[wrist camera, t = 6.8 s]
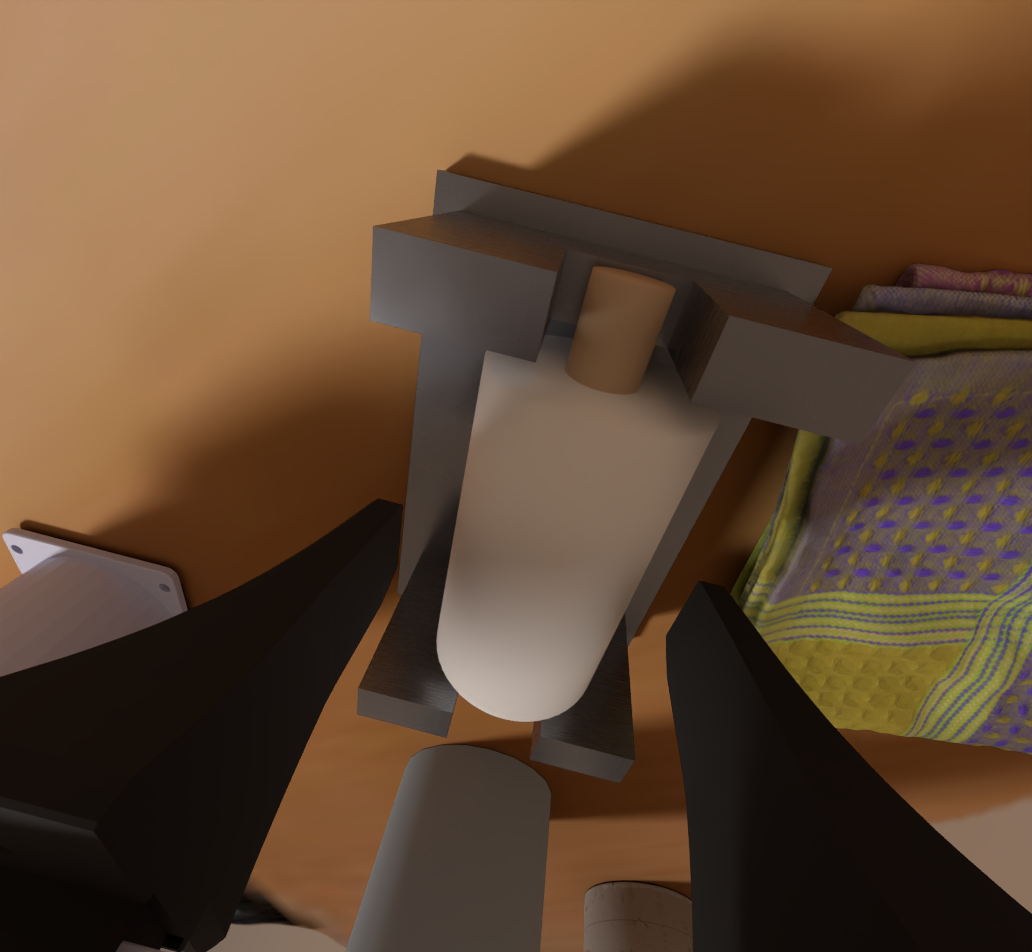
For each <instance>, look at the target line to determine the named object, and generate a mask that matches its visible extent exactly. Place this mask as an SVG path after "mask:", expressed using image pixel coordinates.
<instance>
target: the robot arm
mask: <svg viewBox="0 0 1032 952" xmlns="http://www.w3.org/2000/svg"><path fill="white" fill-rule="evenodd" d="M402 510H403V505H402V504H398V503H394V502H390V501H386V500H382V499H377V500H375V501H373V502H372V503H370V504H369V505H367V506H366V507H365V508H363V509H362V510H360V511H359V512H358V513H356V514H355V515H354V516H352V517H351V518H349V519H348V520H347V521H345V522H344V523H342V524H341V525H339V526H338V527H337V528H335V529H334V530H332V531H331V532H329V533H328V534H326V535H325V536H323V537H322V538H320V539H319V540H317V541H316V542H314V543H313V544H311V545H310V546H308V547H307V548H305V549H303V550H302V551H300V552H299V553H297V554H295V555H294V556H292V557H290V558H289V559H287V560H285V561H284V562H282V563H280V564H279V565H277V566H275V567H273V568H272V569H270V570H268V571H267V572H265V573H263V574H261V575H259V576H258V577H256V578H254V579H252V580H250V581H248V582H246V583H245V584H243V585H241V586H239V587H237V588H235V589H233V590H231V591H229V592H227V593H225V594H223V595H221V596H219V597H217V598H215V599H212V600H210V601H208V602H206V603H204V604H201V605H199V606H197V607H195V608H192V609H190V610H188V609H187V605H186V602H185V598H184V594H183V591H182V587H181V583H180V580H179V576H178V574H177V573H176V572H175V571H174V570H172V569H171V568H168V567H165V566H161V565H157V564H153V563H149V562H146V561H142V560H138V559H134V558H130V557H126V556H123V555H119V554H115V553H111V552H107V551H103V550H100V549H96V548H92V547H88V546H84V545H80V544H77V543H73V542H69V541H65V540H61V539H57V538H54V537H50V536H46V535H42V534H38V533H34V532H31V531H27V530H23V529H19V528H11V529H9V530H7V531H6V532H4V533H3V539H4V541H5V543H6V545H7V547H8V549H9V550H10V552H11V554H12V556H13V558H14V560H15V562H16V564H17V565H18V567H19V569H20V571H21V573H22V575H20V576H19V577H17V578H16V579H15V580H13V581H12V582H10V583H9V584H7V585H6V586H4V587H3V588H1V589H0V952H164V951H161V950H160V948H164V949H168V950H172V951H176V952H181V951H182V952H206V951H208V950H210V949H211V948H213V947H214V946H215V945H217V944H218V943H219V942H220V941H222V940H223V939H224V938H225V937H226V935H227V932H228V930H229V927H230V925H231V922H232V920H233V917H234V915H235V912H236V910H237V907H238V905H239V902H240V900H241V897H242V895H243V892H244V890H245V887H246V885H247V882H248V880H249V878H250V875H251V873H252V870H253V868H254V865H255V863H256V860H257V858H258V855H259V853H260V851H261V848H262V846H263V843H264V841H265V839H266V836H267V834H268V832H269V829H270V827H271V825H272V822H273V820H274V818H275V815H276V813H277V810H278V808H279V806H280V803H281V801H282V799H283V796H284V794H285V792H286V789H287V787H288V785H289V783H290V780H291V778H292V776H293V774H294V771H295V769H296V767H297V765H298V762H299V760H300V758H301V756H302V753H303V751H304V749H305V747H306V744H307V742H308V740H309V738H310V736H311V733H312V731H313V729H314V727H315V725H316V723H317V720H318V718H319V716H320V714H321V712H322V709H323V707H324V705H325V703H326V701H327V699H328V698H329V696H330V694H331V692H332V690H333V688H334V686H335V684H336V683H337V681H338V679H339V677H340V676H341V674H342V672H343V670H344V669H345V667H346V665H347V664H348V662H349V660H350V658H351V657H352V655H353V653H354V651H355V650H356V648H357V646H358V644H359V643H360V641H361V639H362V637H363V636H364V634H365V632H366V631H367V629H368V627H369V625H370V623H371V622H372V620H373V618H374V616H375V615H376V613H377V611H378V609H379V608H380V606H381V604H382V602H383V599H384V597H385V595H386V593H387V590H388V588H389V586H390V583H391V581H392V578H393V576H394V574H395V571H396V569H397V565H398V554H399V543H400V532H401V521H402ZM666 662H667V679H668V686H669V693H670V699H671V706H672V712H673V718H674V724H675V730H676V736H677V742H678V748H679V754H680V760H681V766H682V772H683V779H684V787H685V795H686V805H687V820H688V835H689V850H690V872H691V894H692V934H693V952H1032V914H1031V913H1030V912H1029V911H1028V910H1026V909H1025V908H1024V907H1023V906H1021V905H1020V904H1019V903H1018V902H1016V900H1014V899H1013V898H1012V897H1011V896H1010V895H1009V894H1007V893H1006V892H1005V891H1004V890H1003V889H1002V888H1000V887H999V886H998V885H997V884H996V883H995V882H994V881H992V880H991V879H990V878H989V877H988V876H987V875H986V874H984V873H983V872H982V871H981V870H980V869H978V867H976V866H975V865H974V864H973V863H972V862H971V861H969V860H968V859H967V858H966V857H965V856H964V855H963V854H962V853H960V852H959V851H958V850H957V849H956V848H955V847H954V846H953V845H952V844H951V843H949V842H948V841H947V840H946V839H945V838H944V837H943V836H942V835H941V834H940V833H938V832H937V831H936V830H935V829H934V828H933V827H932V826H931V825H930V824H929V823H928V822H927V821H926V820H925V819H924V818H923V817H922V816H921V815H920V814H918V813H917V812H916V811H915V810H914V809H913V808H912V807H911V806H910V805H909V804H908V803H907V802H906V801H905V800H904V799H903V798H902V797H901V796H900V795H899V794H898V793H897V792H896V791H895V790H894V789H893V788H892V787H891V786H890V785H889V784H888V783H887V782H886V781H885V780H884V779H883V778H882V777H881V776H880V775H879V774H878V773H877V772H876V771H875V770H874V769H873V768H872V767H871V766H870V765H869V764H868V763H867V762H866V761H865V760H864V758H863V757H862V756H861V755H860V754H859V753H858V752H857V751H856V750H855V749H854V748H853V747H852V746H851V745H850V744H849V742H848V741H847V740H846V739H845V738H844V737H843V736H842V735H841V734H840V733H839V732H838V730H837V729H836V728H835V727H834V726H833V725H832V724H831V723H830V721H829V720H828V719H827V718H826V717H825V716H824V714H823V713H822V712H821V711H820V710H819V708H818V707H817V706H816V705H815V704H814V702H813V701H812V700H811V699H810V698H809V696H808V695H807V694H806V693H805V692H804V690H803V689H802V688H801V687H800V685H799V684H798V683H797V682H796V680H795V679H794V678H793V677H792V675H791V674H790V673H789V672H788V670H787V669H786V668H785V666H784V665H783V664H782V663H781V661H780V660H779V659H778V657H777V656H776V655H775V653H774V652H773V651H772V650H771V648H770V647H769V646H768V644H767V643H766V642H765V640H764V639H763V638H762V636H761V635H760V633H759V632H758V631H757V629H756V628H755V627H754V625H753V624H752V623H751V621H750V620H749V619H748V617H747V616H746V615H745V613H744V612H743V611H742V609H741V608H740V606H739V605H738V604H737V603H736V601H735V600H734V599H733V597H732V596H731V595H730V593H729V592H728V591H727V590H726V589H725V587H722V586H718V585H714V584H710V583H706V582H703V581H698V583H697V585H696V586H695V588H694V590H693V591H692V593H691V595H690V596H689V598H688V600H687V602H686V603H685V605H684V607H683V608H682V610H681V612H680V613H679V615H678V617H677V618H676V620H675V622H674V623H673V625H672V627H671V628H670V630H669V632H668V633H667V635H666Z"/></svg>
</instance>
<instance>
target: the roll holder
mask: <svg viewBox="0 0 1032 952" xmlns="http://www.w3.org/2000/svg"><path fill="white" fill-rule="evenodd" d="M596 266H602V267H610V268H616V269H621V270H626V271H630V272H634V273H638V274H642V275H645V276H648V277H651V278H654V279H657V280H660V281H662V282H665V283H667V284H669V285H671V286H673V287H674V288H675V289H676V291H675V294H674V296H673V299H672V302H671V304H670V307H669V310H668V312H667V315H666V318H665V320H664V323H663V326H662V328H661V331H660V334H659V336H658V339H657V342H656V344H655V347H654V350H653V352H652V355H651V358H650V360H651V361H653V362H656V363H658V364H660V365H662V366H664V367H667V368H669V369H671V370H673V371H674V372H676V373H678V374H679V376H680V379H681V381H682V383H683V385H684V388H685V390H686V392H687V394H688V397H689V399H690V401H691V402H693V403H697V404H701V405H705V406H709V407H713V408H717V409H719V412H720V421H719V424H718V426H717V428H716V430H715V432H714V434H713V436H712V438H711V440H710V442H709V444H708V446H707V448H706V450H705V452H704V454H703V456H702V458H701V460H700V462H699V464H698V466H697V468H696V470H695V472H694V474H693V476H692V478H691V480H690V482H689V484H688V486H687V488H686V490H685V492H684V494H683V496H682V499H681V501H680V503H679V505H678V507H677V509H676V511H675V513H674V515H673V517H672V519H671V521H670V523H669V525H668V527H667V529H666V531H665V533H664V535H663V537H662V539H661V541H660V543H659V545H658V547H657V549H656V551H655V553H654V555H653V557H652V559H651V561H650V563H649V565H648V567H647V569H646V571H645V573H644V575H643V577H642V579H641V581H640V583H639V585H638V587H637V589H636V591H635V593H634V595H633V597H632V599H631V601H630V603H629V605H628V607H627V609H626V611H625V613H624V615H623V617H622V619H621V621H620V623H619V625H618V627H617V629H616V631H615V633H614V635H613V637H612V639H611V641H610V643H609V645H608V647H607V649H606V651H605V653H604V655H603V657H602V659H601V661H600V663H599V665H598V667H597V669H596V671H595V673H594V675H593V677H592V679H591V681H590V683H589V685H588V687H587V689H586V690H585V692H584V694H583V695H582V697H581V698H580V699H579V700H578V701H577V702H576V703H575V704H574V705H573V706H572V707H570V708H569V709H568V710H566V711H565V712H563V713H561V714H559V715H557V716H554V717H552V718H549V719H545V720H540V721H534V725H533V734H532V743H531V751H530V760H533V761H537V762H540V763H544V764H548V765H552V766H556V767H559V768H563V769H567V770H571V771H575V772H578V773H582V774H586V775H590V776H594V777H597V778H601V779H605V780H609V781H613V782H616V783H620V782H621V780H622V779H623V778H624V776H625V775H626V773H627V772H628V771H629V769H630V768H631V766H632V765H633V763H634V762H635V749H634V735H633V720H632V706H631V691H630V677H629V662H628V646H629V644H630V642H631V640H632V639H633V637H634V635H635V633H636V631H637V629H638V628H639V626H640V624H641V622H642V620H643V618H644V616H645V615H646V613H647V611H648V609H649V607H650V605H651V603H652V602H653V600H654V598H655V596H656V594H657V592H658V591H659V589H660V587H661V585H662V583H663V581H664V579H665V578H666V576H667V574H668V572H669V570H670V568H671V567H672V565H673V563H674V561H675V559H676V557H677V555H678V554H679V552H680V550H681V548H682V546H683V544H684V542H685V541H686V539H687V537H688V535H689V533H690V531H691V530H692V528H693V526H694V524H695V522H696V520H697V518H698V517H699V515H700V513H701V511H702V509H703V507H704V506H705V504H706V502H707V500H708V498H709V496H710V494H711V493H712V491H713V489H714V487H715V485H716V483H717V481H718V480H719V478H720V476H721V474H722V472H723V470H724V469H725V467H726V465H727V463H728V461H729V459H730V457H731V456H732V454H733V452H734V450H735V448H736V446H737V445H738V443H739V441H740V439H741V437H742V435H743V433H744V432H745V430H746V428H747V426H748V424H749V422H750V420H751V419H752V418H756V419H760V420H764V421H768V422H772V423H776V424H780V425H784V426H788V427H792V428H796V429H800V430H804V431H808V432H812V433H815V434H819V435H823V436H827V437H831V438H835V439H839V440H843V441H847V442H851V443H855V444H860V443H861V441H862V440H863V438H864V437H865V436H866V434H867V433H868V431H869V430H870V429H871V427H872V426H873V424H874V423H875V421H876V420H877V419H878V417H879V416H880V414H881V413H882V412H883V410H884V409H885V407H886V406H887V404H888V403H889V402H890V400H891V399H892V397H893V396H894V395H895V393H896V392H897V390H898V389H899V388H900V386H901V385H902V383H903V382H904V380H905V379H906V378H907V376H908V375H909V373H910V372H911V371H912V369H913V368H914V366H915V365H916V363H917V362H915V361H913V360H911V359H910V358H908V357H906V356H904V355H902V354H901V353H899V352H897V351H895V350H893V349H891V348H890V347H888V346H886V345H884V344H882V343H881V342H879V341H877V340H875V339H873V338H871V337H870V336H868V335H866V334H864V333H862V332H861V331H859V330H857V329H855V328H853V327H851V326H850V325H848V324H846V323H844V322H842V321H841V320H839V319H837V318H835V317H833V316H831V315H830V314H828V313H826V312H824V311H822V310H821V309H819V308H817V307H815V306H813V304H814V302H815V300H816V299H817V297H818V295H819V293H820V291H821V289H822V287H823V286H824V284H825V282H826V280H827V278H828V276H829V274H830V273H831V271H832V269H833V268H831V267H828V266H825V265H822V264H818V263H814V262H810V261H806V260H802V259H798V258H794V257H790V256H786V255H782V254H778V253H774V252H770V251H766V250H762V249H757V248H753V247H749V246H745V245H741V244H737V243H733V242H729V241H725V240H721V239H717V238H713V237H709V236H705V235H701V234H697V233H693V232H689V231H685V230H681V229H677V228H673V227H669V226H665V225H661V224H657V223H653V222H649V221H645V220H641V219H637V218H633V217H629V216H625V215H621V214H617V213H613V212H609V211H605V210H601V209H597V208H593V207H589V206H585V205H581V204H577V203H573V202H569V201H565V200H561V199H557V198H553V197H549V196H545V195H541V194H537V193H533V192H529V191H525V190H521V189H517V188H513V187H509V186H505V185H501V184H497V183H493V182H489V181H485V180H481V179H476V178H472V177H468V176H464V175H460V174H456V173H452V172H448V171H444V170H437V178H436V188H435V199H434V210H433V215H432V216H426V217H421V218H415V219H410V220H404V221H399V222H393V223H388V224H382V225H376V226H373V247H372V278H371V308H370V321H373V322H377V323H381V324H385V325H389V326H393V327H397V328H401V329H405V330H409V331H413V332H417V333H421V334H422V337H421V347H420V358H419V368H418V379H417V389H416V400H415V411H414V421H413V432H412V442H411V453H410V464H409V474H408V485H407V495H406V506H405V516H404V527H403V538H402V548H401V559H400V569H399V580H398V590H397V593H398V594H401V595H402V596H401V599H400V601H399V603H398V605H397V607H396V609H395V611H394V613H393V615H392V618H391V620H390V622H389V624H388V626H387V628H386V630H385V632H384V634H383V637H382V639H381V641H380V643H379V645H378V647H377V649H376V651H375V653H374V656H373V658H372V660H371V662H370V664H369V666H368V668H367V670H366V672H365V675H364V677H363V679H362V681H361V683H360V685H359V687H358V707H357V714H358V715H362V716H366V717H370V718H373V719H377V720H381V721H385V722H388V723H392V724H396V725H400V726H404V727H407V728H411V729H415V730H419V731H423V732H426V733H430V734H434V735H438V736H442V737H445V738H446V737H447V734H448V730H449V726H450V723H451V719H452V715H453V712H454V708H455V704H456V700H457V697H458V692H457V691H456V690H455V689H454V687H453V686H452V685H451V683H450V682H449V680H448V679H447V677H446V675H445V674H444V672H443V670H442V667H441V664H440V662H439V659H438V653H437V644H436V639H437V630H438V624H439V619H440V613H441V607H442V601H443V595H444V589H445V584H446V578H447V572H448V566H449V560H450V555H451V549H452V543H453V537H454V531H455V526H456V520H457V514H458V508H459V502H460V496H461V491H462V485H463V479H464V473H465V467H466V462H467V456H468V450H469V444H470V438H471V432H472V427H473V421H474V415H475V409H476V403H477V398H478V392H479V386H480V380H481V374H482V369H483V363H484V357H485V353H486V350H488V351H492V352H496V353H500V354H504V355H508V356H512V357H515V358H519V359H523V360H527V361H531V362H535V363H536V360H537V357H538V355H539V352H540V349H541V346H542V343H543V340H544V337H545V335H553V336H562V337H569V338H574V334H575V331H576V327H577V323H578V320H579V316H580V312H581V309H582V305H583V301H584V298H585V294H586V290H587V287H588V283H589V279H590V276H591V272H592V269H593V267H596Z"/></svg>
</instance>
